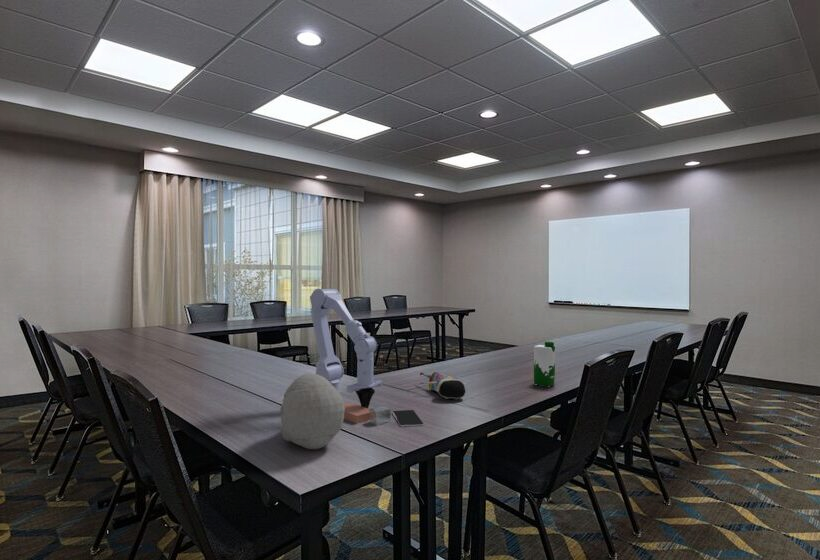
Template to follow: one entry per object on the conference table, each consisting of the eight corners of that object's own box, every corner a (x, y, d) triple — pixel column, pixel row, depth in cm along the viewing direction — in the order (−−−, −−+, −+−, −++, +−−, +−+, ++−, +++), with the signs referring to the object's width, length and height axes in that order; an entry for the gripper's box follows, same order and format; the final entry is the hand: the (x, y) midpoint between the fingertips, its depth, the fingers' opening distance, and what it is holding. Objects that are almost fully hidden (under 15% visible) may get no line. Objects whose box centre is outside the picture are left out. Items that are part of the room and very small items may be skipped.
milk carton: (550, 388, 195) (551, 343, 195) (531, 385, 201) (531, 341, 201) (556, 384, 202) (557, 341, 202) (537, 381, 208) (538, 339, 208)
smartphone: (400, 425, 141) (391, 410, 155) (400, 429, 141) (391, 414, 155) (424, 423, 143) (413, 409, 157) (424, 427, 143) (413, 413, 157)
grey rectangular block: (368, 422, 145) (369, 409, 145) (382, 418, 149) (382, 405, 149) (376, 425, 142) (376, 411, 142) (390, 421, 146) (390, 408, 146)
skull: (322, 422, 144) (323, 362, 144) (351, 451, 120) (352, 379, 120) (269, 430, 136) (270, 366, 136) (289, 463, 112) (290, 385, 112)
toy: (407, 387, 196) (429, 401, 167) (408, 367, 197) (430, 378, 168) (454, 388, 202) (483, 401, 174) (455, 368, 203) (484, 379, 174)
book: (331, 415, 153) (331, 406, 153) (349, 410, 159) (349, 402, 159) (357, 424, 143) (357, 415, 143) (375, 419, 149) (375, 410, 149)
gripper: (355, 376, 147) (354, 416, 147) (388, 370, 157) (387, 408, 157) (343, 372, 152) (342, 411, 152) (375, 367, 162) (375, 403, 162)
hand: (364, 409), depth 155 cm, fingers closed
